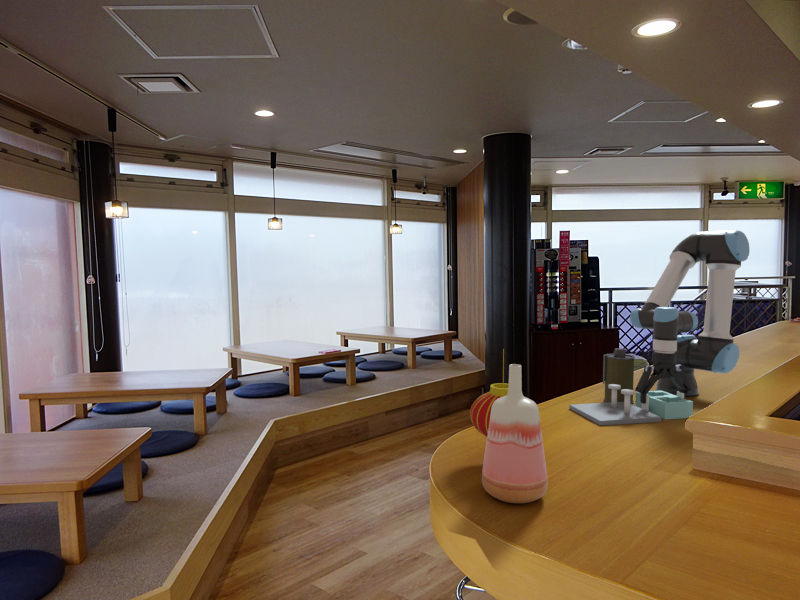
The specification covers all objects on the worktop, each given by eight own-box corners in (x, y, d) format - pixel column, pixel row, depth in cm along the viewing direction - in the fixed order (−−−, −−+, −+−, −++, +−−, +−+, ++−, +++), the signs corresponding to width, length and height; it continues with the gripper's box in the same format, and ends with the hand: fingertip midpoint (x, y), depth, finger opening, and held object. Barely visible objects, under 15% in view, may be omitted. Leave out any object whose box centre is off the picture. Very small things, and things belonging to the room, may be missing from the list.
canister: (628, 398, 203) (629, 346, 202) (637, 405, 193) (639, 351, 191) (599, 397, 204) (600, 346, 203) (607, 404, 194) (608, 351, 192)
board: (625, 405, 192) (625, 380, 192) (661, 421, 173) (662, 393, 172) (569, 408, 188) (569, 383, 188) (600, 425, 169) (600, 397, 168)
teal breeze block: (660, 405, 193) (661, 390, 192) (692, 417, 177) (693, 401, 177) (635, 406, 191) (635, 391, 190) (664, 419, 175) (665, 403, 175)
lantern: (463, 468, 134) (464, 352, 132) (477, 446, 150) (478, 342, 148) (531, 477, 128) (533, 355, 126) (538, 453, 144) (540, 345, 142)
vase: (535, 515, 108) (537, 374, 106) (471, 499, 116) (472, 367, 114) (555, 490, 121) (557, 362, 119) (495, 477, 128) (496, 357, 126)
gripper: (688, 348, 188) (686, 407, 190) (625, 350, 184) (623, 410, 185) (704, 352, 181) (701, 412, 182) (638, 354, 176) (637, 416, 178)
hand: (662, 411), depth 184 cm, fingers open, 13 cm apart
